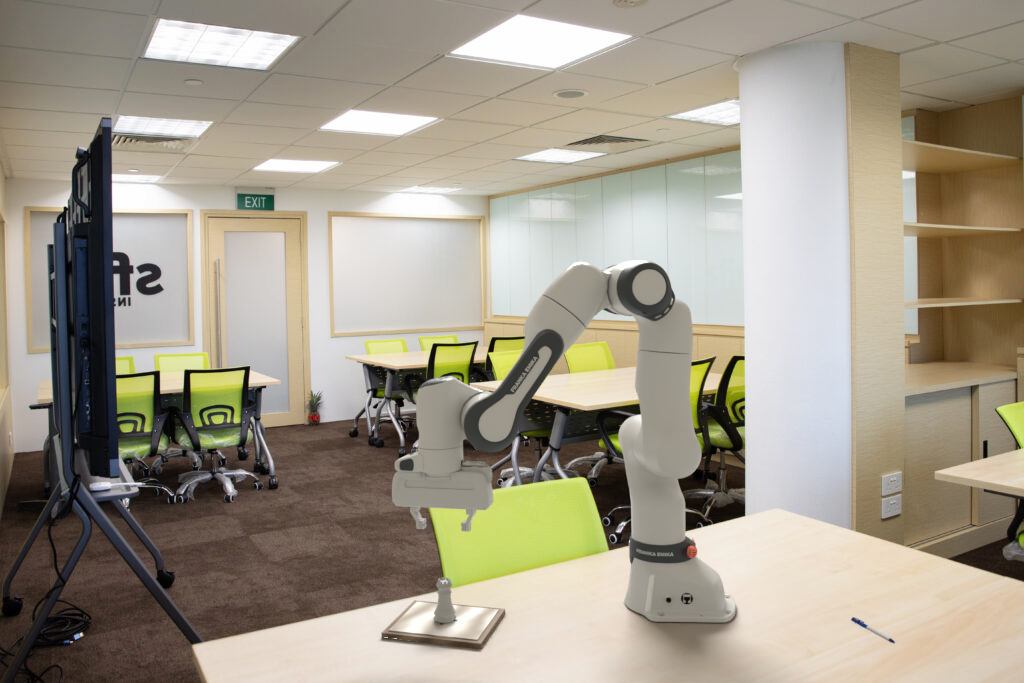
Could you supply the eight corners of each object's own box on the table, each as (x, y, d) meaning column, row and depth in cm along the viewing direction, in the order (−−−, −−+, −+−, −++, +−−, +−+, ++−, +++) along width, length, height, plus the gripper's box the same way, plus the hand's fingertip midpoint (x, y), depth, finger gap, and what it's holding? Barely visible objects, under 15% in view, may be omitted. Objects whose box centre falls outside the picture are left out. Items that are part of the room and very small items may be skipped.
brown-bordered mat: (505, 613, 155) (505, 607, 155) (481, 648, 140) (480, 642, 140) (414, 604, 161) (414, 599, 161) (381, 637, 145) (381, 631, 145)
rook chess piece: (434, 615, 152) (433, 576, 152) (456, 614, 153) (455, 575, 152) (433, 624, 148) (432, 584, 147) (456, 623, 148) (455, 583, 148)
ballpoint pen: (849, 621, 149) (849, 616, 149) (853, 620, 149) (853, 615, 149) (892, 643, 139) (892, 638, 139) (896, 643, 139) (896, 637, 139)
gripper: (496, 457, 149) (499, 527, 150) (400, 455, 154) (403, 522, 155) (486, 465, 143) (489, 537, 143) (386, 462, 148) (389, 531, 149)
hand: (443, 529), depth 149 cm, fingers open, 8 cm apart
